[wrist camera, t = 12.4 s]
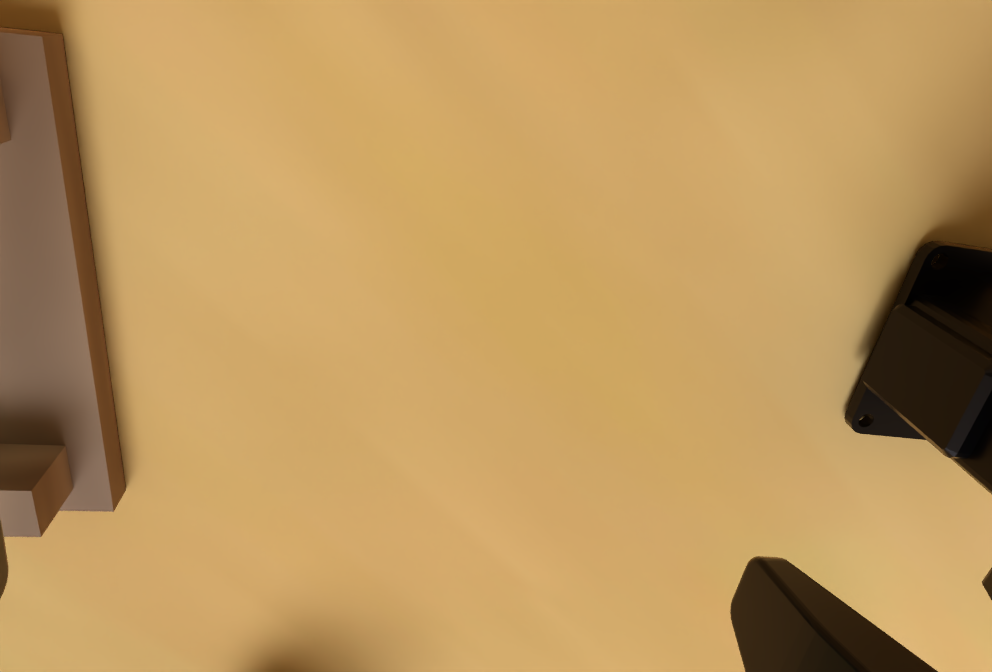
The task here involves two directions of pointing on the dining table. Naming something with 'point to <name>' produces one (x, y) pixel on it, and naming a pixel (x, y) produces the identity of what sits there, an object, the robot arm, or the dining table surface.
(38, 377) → the rack
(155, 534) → the dining table surface
